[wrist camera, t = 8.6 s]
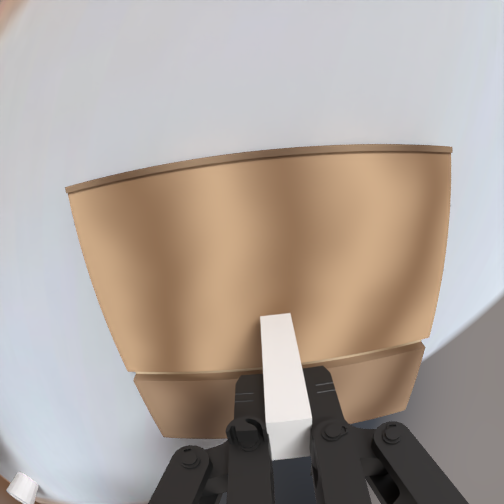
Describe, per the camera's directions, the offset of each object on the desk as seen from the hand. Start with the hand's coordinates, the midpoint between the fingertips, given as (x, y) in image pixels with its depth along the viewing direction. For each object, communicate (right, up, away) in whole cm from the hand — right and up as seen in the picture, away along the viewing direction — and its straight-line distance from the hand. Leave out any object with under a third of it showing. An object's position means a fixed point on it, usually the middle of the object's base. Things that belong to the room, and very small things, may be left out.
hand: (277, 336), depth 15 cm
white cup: (-51, -46, +19) cm, 71 cm away
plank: (0, +4, +1) cm, 4 cm away
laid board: (+1, -6, +5) cm, 8 cm away
